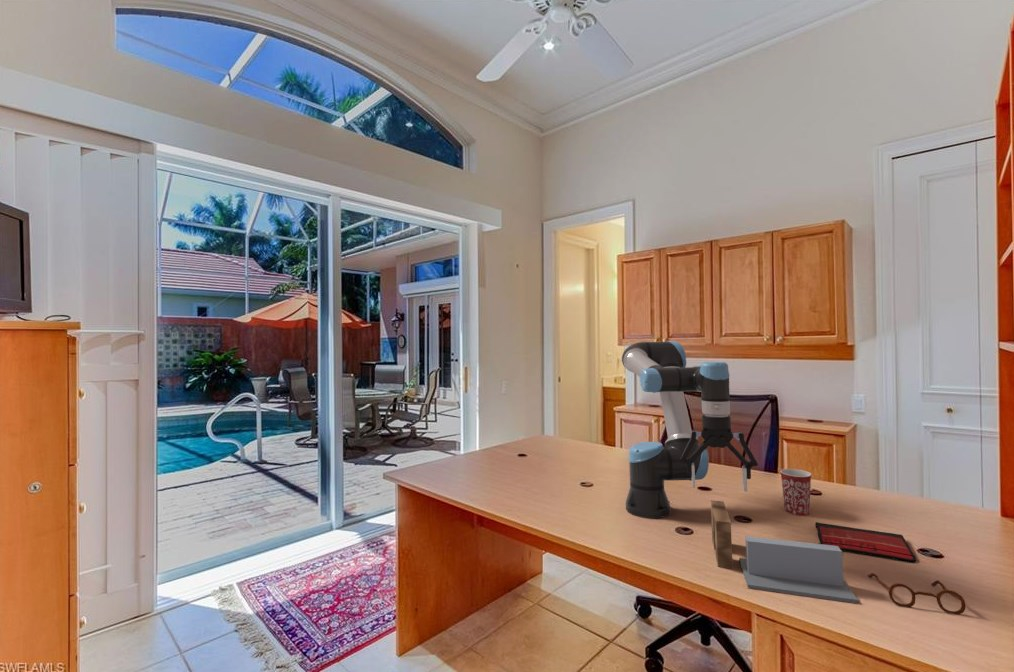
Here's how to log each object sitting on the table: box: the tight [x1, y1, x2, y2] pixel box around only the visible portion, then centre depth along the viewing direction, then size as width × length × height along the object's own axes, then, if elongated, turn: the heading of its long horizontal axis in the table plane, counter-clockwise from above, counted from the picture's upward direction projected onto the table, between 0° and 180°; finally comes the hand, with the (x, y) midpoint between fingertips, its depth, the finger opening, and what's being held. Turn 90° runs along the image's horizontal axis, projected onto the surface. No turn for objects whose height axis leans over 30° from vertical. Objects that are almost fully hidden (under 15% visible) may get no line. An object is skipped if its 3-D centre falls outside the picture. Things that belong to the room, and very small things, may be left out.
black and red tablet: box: [814, 521, 918, 564], centre depth 128 cm, size 16×2×21 cm
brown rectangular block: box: [710, 500, 733, 569], centre depth 125 cm, size 4×16×12 cm, turn 160°
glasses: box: [867, 572, 967, 615], centre depth 103 cm, size 13×13×5 cm
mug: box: [779, 468, 813, 517], centre depth 154 cm, size 13×9×14 cm
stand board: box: [738, 535, 859, 605], centre depth 110 cm, size 22×14×9 cm, turn 70°
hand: (718, 488), depth 129 cm, fingers open, 13 cm apart
